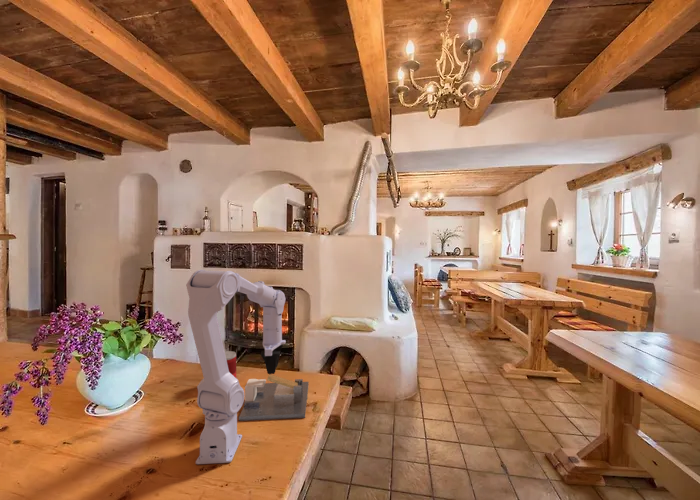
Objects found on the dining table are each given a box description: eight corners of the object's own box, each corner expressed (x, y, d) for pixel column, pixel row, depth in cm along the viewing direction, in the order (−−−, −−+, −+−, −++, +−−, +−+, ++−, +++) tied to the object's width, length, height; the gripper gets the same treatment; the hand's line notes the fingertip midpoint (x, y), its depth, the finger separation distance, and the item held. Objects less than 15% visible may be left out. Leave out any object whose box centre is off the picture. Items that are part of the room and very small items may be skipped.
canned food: (240, 380, 108) (240, 351, 108) (229, 391, 100) (229, 359, 100) (220, 380, 109) (220, 350, 109) (207, 390, 101) (207, 358, 101)
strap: (298, 390, 93) (299, 387, 93) (266, 380, 92) (267, 377, 92) (299, 386, 95) (300, 383, 95) (268, 376, 95) (269, 373, 95)
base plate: (304, 417, 85) (304, 397, 85) (238, 420, 84) (238, 400, 84) (308, 384, 105) (308, 368, 105) (255, 387, 104) (255, 370, 104)
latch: (263, 402, 91) (263, 385, 91) (245, 403, 90) (245, 386, 90) (266, 394, 96) (266, 378, 95) (249, 395, 95) (249, 379, 95)
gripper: (282, 334, 86) (282, 380, 86) (288, 321, 101) (288, 360, 101) (257, 334, 85) (257, 381, 86) (267, 321, 100) (267, 361, 100)
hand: (272, 370), depth 93 cm, fingers open, 4 cm apart
